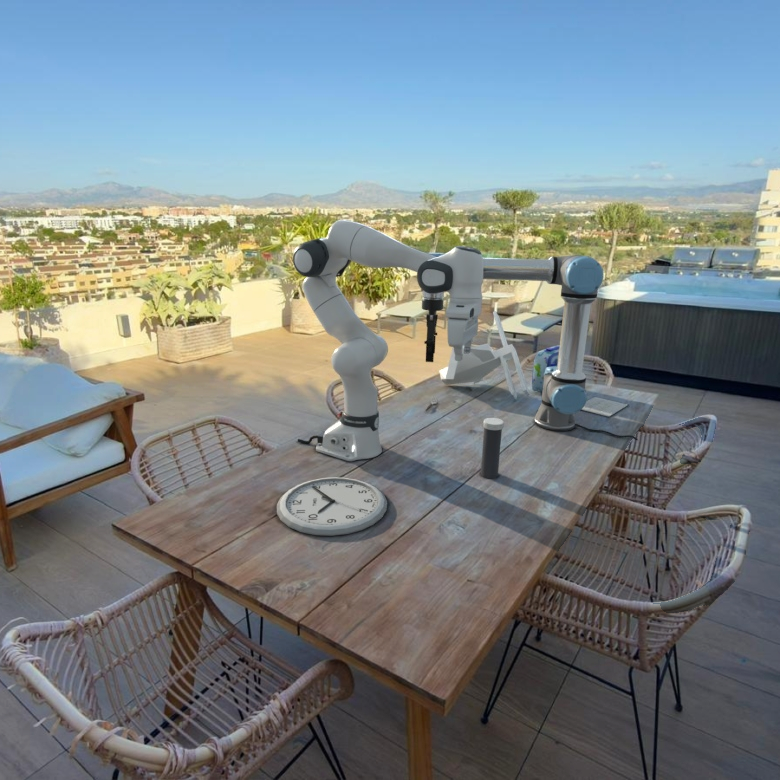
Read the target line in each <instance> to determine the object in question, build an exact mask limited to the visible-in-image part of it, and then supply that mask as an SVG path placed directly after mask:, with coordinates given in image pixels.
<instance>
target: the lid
mask: <svg viewBox="0 0 780 780" xmlns="http://www.w3.org/2000/svg"><path fill="white" fill-rule="evenodd" d="M482 426H483V429H484V428H486V429H489V430H501V429H502V430H503V429H504V420H502V419H500V418H498V417H486V418H484V419H483V422H482Z"/></svg>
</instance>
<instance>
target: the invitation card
mask: <svg viewBox="0 0 780 780" xmlns="http://www.w3.org/2000/svg"><path fill="white" fill-rule="evenodd" d="M628 406H629V404H627V403H623V402H618V401H614V400H609V399H605V398H601V397H596V396H593V397H592V398H590V399H587V401H586V404H585V406H584V407H583V408H582V409H581V410H580V411H584V412H587V413H593V414H596V415H600V416H604V417H608V418H609V417H611V416H613V415H614V414H616V413H617V412H619V411H621V410H623V409H624V408H626V407H628Z"/></svg>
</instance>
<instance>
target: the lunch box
mask: <svg viewBox="0 0 780 780" xmlns="http://www.w3.org/2000/svg"><path fill="white" fill-rule="evenodd" d="M559 346H560V344H559V345H553V346H550V347H546V348H545V349H542V350H539V351H538V352H537V353H536V354H535V356H534V358H533V365H532V376H531V377H532V378H531V390H532V391H533V392H537V393H542V392H543V382H544V373H545V369H546V368H547V367H553V366H557V364H558V355H559Z"/></svg>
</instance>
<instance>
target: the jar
mask: <svg viewBox="0 0 780 780" xmlns="http://www.w3.org/2000/svg"><path fill="white" fill-rule="evenodd" d="M502 431H503V429H501V430H489V429H486V428H484V427H483V439H482V449H481V450H482V451H481V452H482V453H481V464H480V475H481V476H482V477H483V478H486V479H495V478H497V477H498V476H499V465H500V455H501V444H502V443H501V442H502Z"/></svg>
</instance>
